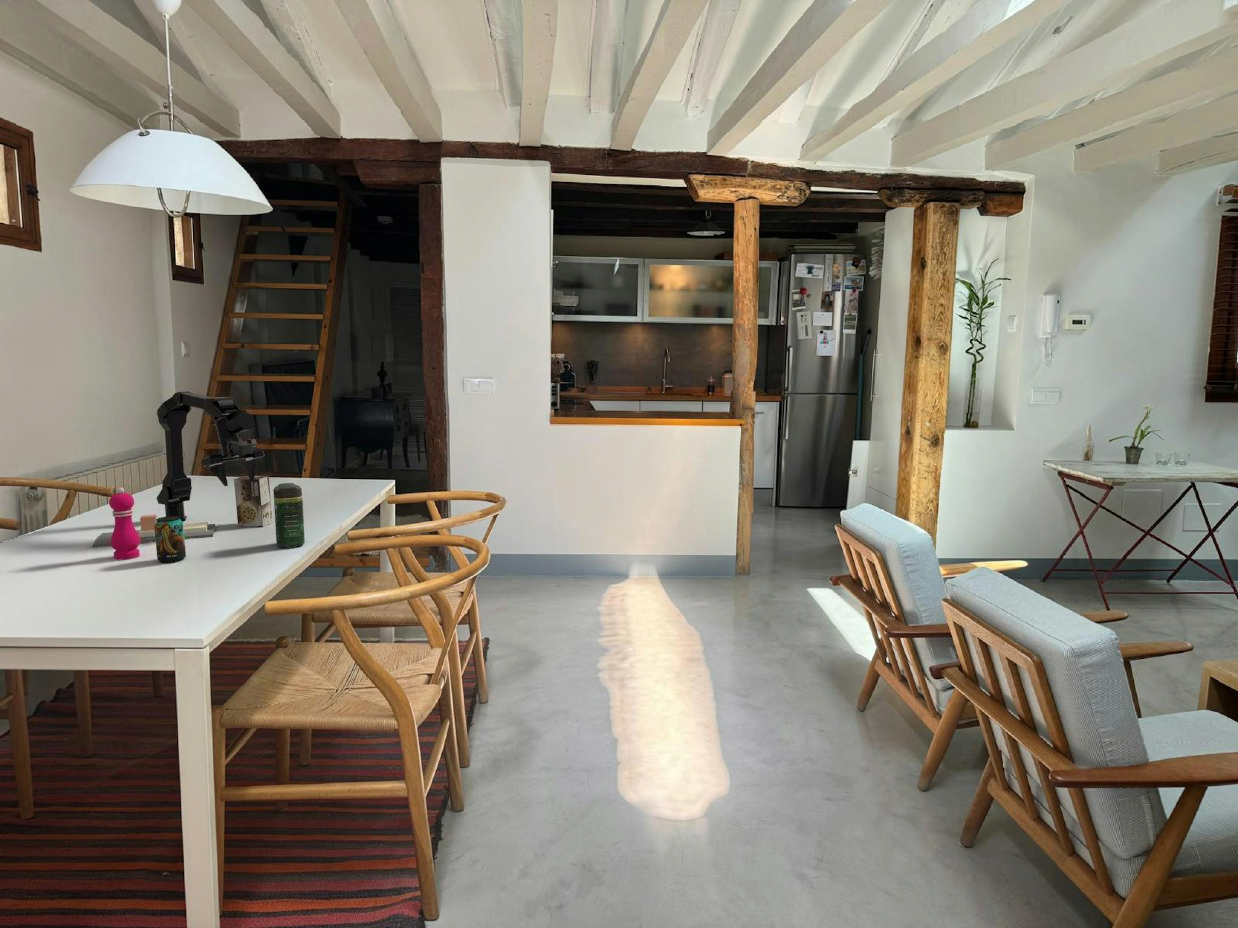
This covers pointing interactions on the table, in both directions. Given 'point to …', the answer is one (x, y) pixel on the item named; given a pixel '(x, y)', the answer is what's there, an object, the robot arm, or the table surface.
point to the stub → (147, 525)
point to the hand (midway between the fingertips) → (239, 483)
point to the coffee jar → (289, 515)
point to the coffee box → (253, 501)
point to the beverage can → (170, 539)
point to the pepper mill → (124, 527)
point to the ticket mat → (189, 532)
